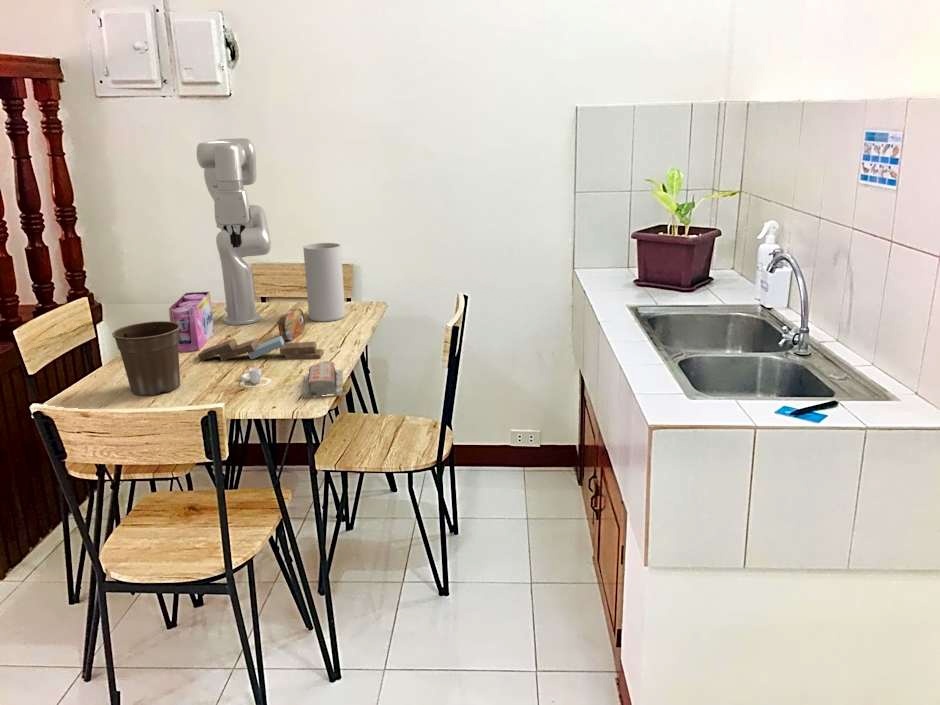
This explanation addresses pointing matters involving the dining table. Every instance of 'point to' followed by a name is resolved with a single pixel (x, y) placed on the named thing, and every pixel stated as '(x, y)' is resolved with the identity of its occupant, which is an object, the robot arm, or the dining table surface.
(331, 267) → the cylinder vase
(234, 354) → the domino
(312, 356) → the domino
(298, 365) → the dining table surface
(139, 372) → the plant pot
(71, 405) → the dining table surface
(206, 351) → the domino
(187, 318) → the gum box
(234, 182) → the robot arm
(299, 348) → the domino
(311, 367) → the packaged product
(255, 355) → the domino
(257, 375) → the teacup and saucer
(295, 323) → the tin
